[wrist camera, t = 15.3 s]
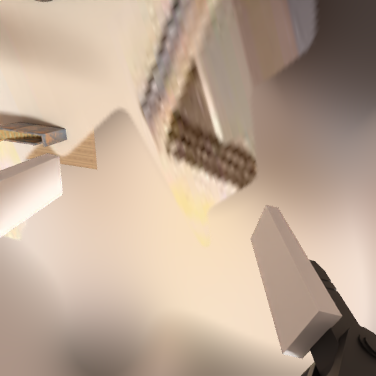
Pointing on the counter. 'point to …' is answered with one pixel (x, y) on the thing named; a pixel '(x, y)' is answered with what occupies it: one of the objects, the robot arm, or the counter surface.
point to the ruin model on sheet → (50, 143)
